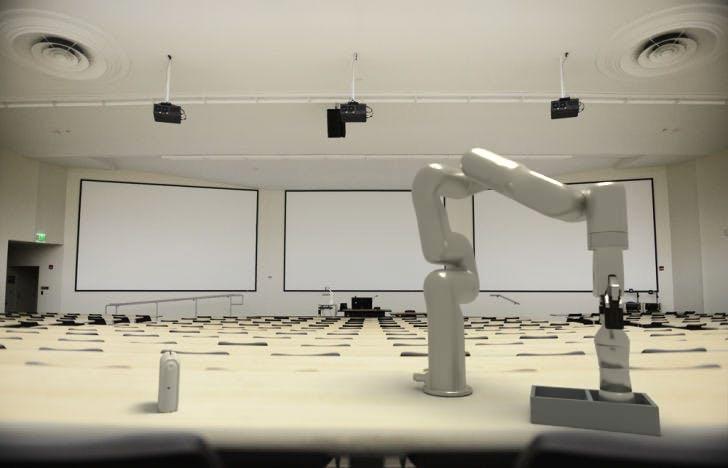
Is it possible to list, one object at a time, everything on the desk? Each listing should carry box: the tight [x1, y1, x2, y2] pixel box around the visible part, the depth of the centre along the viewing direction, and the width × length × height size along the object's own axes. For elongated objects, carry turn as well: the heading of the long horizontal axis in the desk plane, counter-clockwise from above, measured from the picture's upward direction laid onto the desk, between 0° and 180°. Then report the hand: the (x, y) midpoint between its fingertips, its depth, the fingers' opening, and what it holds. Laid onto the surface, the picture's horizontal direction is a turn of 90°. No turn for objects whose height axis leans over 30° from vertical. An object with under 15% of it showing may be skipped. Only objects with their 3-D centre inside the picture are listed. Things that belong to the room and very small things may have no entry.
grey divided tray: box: [529, 384, 662, 437], centre depth 93 cm, size 22×12×5 cm, turn 69°
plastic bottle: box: [593, 314, 636, 404], centre depth 94 cm, size 6×7×20 cm
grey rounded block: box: [157, 351, 181, 413], centre depth 105 cm, size 10×4×12 cm, turn 25°
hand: (611, 327), depth 93 cm, fingers open, 9 cm apart
